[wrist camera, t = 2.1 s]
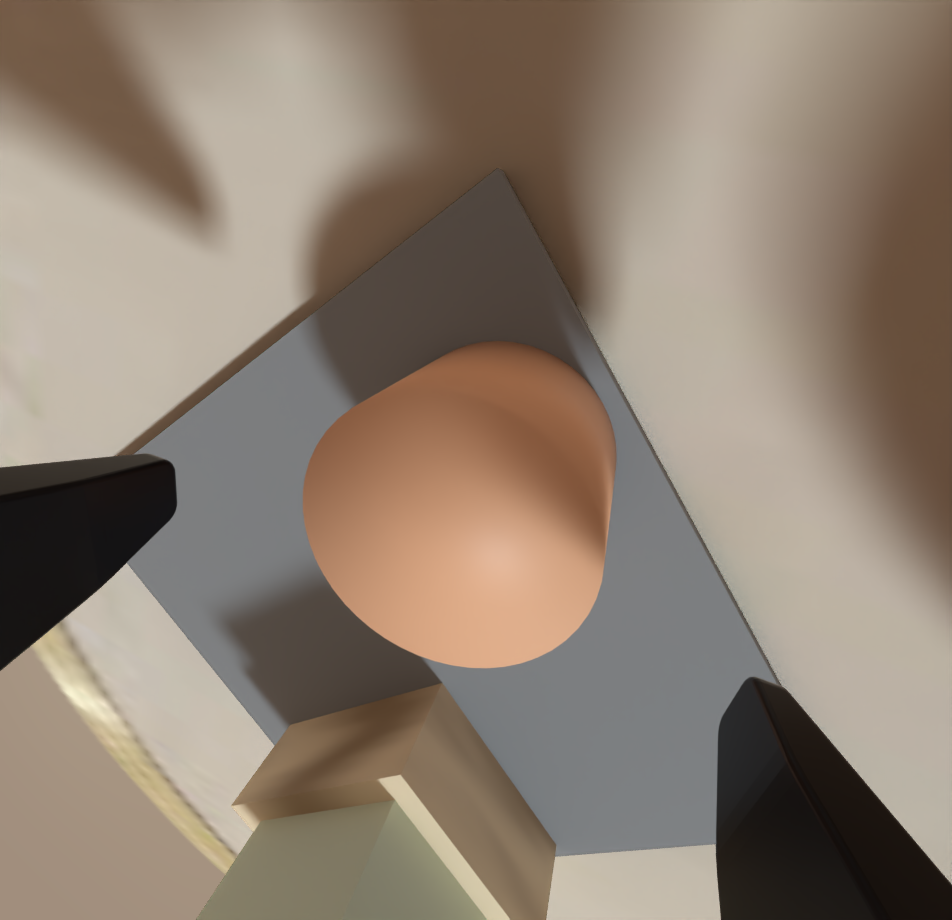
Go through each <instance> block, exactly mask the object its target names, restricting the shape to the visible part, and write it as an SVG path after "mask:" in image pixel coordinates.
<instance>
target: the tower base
mask: <svg viewBox="0 0 952 920" xmlns="http://www.w3.org/2000/svg"><path fill="white" fill-rule="evenodd" d="M391 800H395V801H396V802H397V803H398V805H399V806H400V807H401V808H402V810H403V811H404V812H405V814H406V815H407V816H408V817H409V819H410V820H411V821H412V823H413V824H414V825H415V827H416V828H417V829H418V830H419V832H420V833H421V834H422V836H423V837H424V838H425V840H426V841H427V842H428V843H429V845H430V846H431V847H432V849H433V850H434V851H435V853H436V854H437V855H438V856H439V858H440V859H441V860H442V862H443V863H444V864H445V865H446V867H447V868H448V869H449V871H450V872H451V873H452V875H453V876H454V877H455V878H456V880H457V881H458V882H459V884H460V885H461V886H462V888H463V889H464V890H465V891H466V893H467V894H468V895H469V897H470V898H471V899H472V901H473V902H474V903H475V904H476V906H477V907H478V908H479V910H480V911H481V912H482V913H483V915H484V916H485V917H486V919H487V920H546V916H547V909H548V902H549V895H550V888H551V881H552V874H553V867H554V860H555V853H556V846H557V845H556V844H555V842H554V841H553V840H552V838H551V837H550V835H549V834H548V832H547V831H546V830H545V828H544V827H543V825H542V824H541V822H540V821H539V820H538V818H537V817H536V815H535V814H534V813H533V811H532V810H531V808H530V807H529V805H528V804H527V803H526V801H525V800H524V798H523V797H522V795H521V794H520V793H519V791H518V790H517V788H516V787H515V786H514V784H513V783H512V781H511V780H510V778H509V777H508V776H507V774H506V773H505V771H504V770H503V768H502V767H501V766H500V764H499V763H498V761H497V760H496V759H495V757H494V756H493V754H492V753H491V751H490V750H489V749H488V747H487V746H486V744H485V743H484V741H483V740H482V739H481V737H480V736H479V734H478V733H477V732H476V730H475V729H474V727H473V726H472V724H471V723H470V722H469V720H468V719H467V717H466V716H465V714H464V713H463V712H462V710H461V709H460V707H459V706H458V705H457V703H456V702H455V700H454V699H453V697H452V696H451V695H450V693H449V692H448V690H447V689H446V687H445V686H444V685H443V683H440V684H437V685H433V686H429V687H426V688H422V689H418V690H415V691H411V692H408V693H404V694H400V695H397V696H393V697H389V698H386V699H382V700H379V701H375V702H371V703H368V704H364V705H360V706H357V707H353V708H350V709H346V710H342V711H339V712H335V713H331V714H328V715H324V716H321V717H317V718H313V719H310V720H306V721H302V722H299V723H295V724H292V725H290V726H289V727H288V729H287V730H286V731H285V733H284V734H283V735H282V737H281V738H280V740H279V741H278V742H277V744H276V745H275V746H274V748H273V749H272V751H271V752H270V753H269V755H268V756H267V757H266V759H265V760H264V761H263V763H262V764H261V766H260V767H259V768H258V770H257V771H256V772H255V774H254V775H253V777H252V778H251V779H250V781H249V782H248V783H247V785H246V786H245V788H244V789H243V790H242V792H241V793H240V794H239V796H238V797H237V799H236V800H235V801H234V803H233V804H232V805H231V807H232V808H233V809H234V810H235V811H236V812H237V814H238V815H239V816H240V817H241V818H242V819H243V821H244V822H245V823H246V824H247V825H248V826H249V828H250V829H251V830H252V831H253V832H254V831H255V829H256V828H257V826H258V825H259V823H260V822H261V821H263V820H270V819H276V818H282V817H289V816H295V815H302V814H308V813H314V812H321V811H327V810H333V809H340V808H346V807H352V806H359V805H365V804H371V803H378V802H384V801H391Z"/></svg>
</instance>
